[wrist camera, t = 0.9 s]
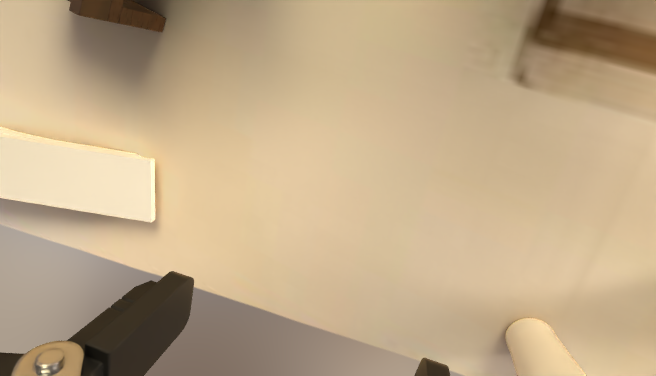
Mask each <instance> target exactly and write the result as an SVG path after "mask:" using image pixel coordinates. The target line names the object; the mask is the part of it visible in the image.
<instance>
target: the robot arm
mask: <svg viewBox="0 0 656 376" xmlns="http://www.w3.org/2000/svg"><path fill="white" fill-rule="evenodd" d="M193 287H194V279H193V278H191V277H189V276H186V275H183V274H180V273H177V272H174V271H171V272H169V273H168V274H167V275H165V276H164V277H163V278H162V279H161V280H160V281H158V282H154V281H149V282H146V283H144V284H141V285H139V286H136V287H134V288H133V289H132V290H131V291H129V292H128V293H127V294H126V295H124V296H123V297H122V299H119V300H118V301H117V302H115V303H114V304H113V305H112V306H111V308H108V309H107V310H105V311H104V312H103V313H101V314H100V315H99V316H98V317H96V318H95V319H94V320H93V321H91V322H90V323H89V324H88V325H87V326H85V327H84V328H82V329H81V330H80V331H79V332H77V333H76V334H75V335H74V336H72V337H71V338H70V339H68V340H67V341H53V342H49V343H45V344H42V345H40V346H37V347H35V348H33V349H32V350H30V351H28V352H27V353H26V354H14V353H0V376H144V375H145V374H146V373H147V371H148V370H149V369H150V368H151V367H152V366H153V364H154V363H155V362H156V361H157V360H158V359H159V357H160V356H161V355H162V354H163V353H164V352H165V350H166V349H167V348H168V347H169V346H170V344H171V343H172V342H173V341H174V340H175V339H176V338H177V336H178V335H179V334H180V333H181V332H182V330H183V329H184V327H185V325H186V323H187V321H188V319H189V316H190V310H191V302H192V293H193ZM415 376H450V373H449V368H448V366H447V365H444V364H441V363H438V362H435V361H433V360H430V359H427V358H423V359H422V360H421V362H420V364H419V367H418V369H417V371H416V373H415Z"/></svg>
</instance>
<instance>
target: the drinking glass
mask: <svg viewBox="0 0 656 376" xmlns="http://www.w3.org/2000/svg"><path fill="white" fill-rule="evenodd" d="M505 338H506V343H507V346H508V348H509V351H510V353H511V357H512V360H513V363H514V367H515V370H516V374H517V376H587V375H586V374H585V373H584V371H583V370H582V369H581V367H580V366H579V365H578V364H577V362H576V361H575V360H574V358H573V357H572V356H571V355H570V353H569V352H568V351H567V349H566V348H565V347H564V345H563V344H562V343H561V341H560V340H559V339H558V337H557V336H556V334H555V332H554V331H553V329H552V328H551V327H550V326H549V325H548V324H547V323H545V322H543V321H541V320H539V319H535V318H523V319H520V320H517V321H515V322H514V323H512V324H511V325H510V326H509V327H508V329H507V331H506V336H505Z"/></svg>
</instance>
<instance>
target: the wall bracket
mask: <svg viewBox="0 0 656 376" xmlns="http://www.w3.org/2000/svg"><path fill="white" fill-rule="evenodd" d="M0 198H4V199H10V200H16V201H22V202H28V203H35V204H41V205H47V206H53V207H59V208H65V209H71V210H77V211H84V212H90V213H96V214H102V215H108V216H114V217H120V218H126V219H133V220H139V221H145V222H151V223H152V222H153V221H154V220H155V159H151V158H145V157H140V155H139V154H137V153H131V152H125V151H119V150H113V149H107V148H101V147H95V146H89V145H83V144H77V143H71V142H65V141H60V140H54V139H49V138H44V137H39V136H35V135H30V134H26V133H22V132H18V131H14V130H11V129H7V128H4V127H1V126H0Z"/></svg>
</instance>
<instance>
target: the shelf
mask: <svg viewBox="0 0 656 376" xmlns="http://www.w3.org/2000/svg"><path fill="white" fill-rule="evenodd" d="M68 1H70V2H71V3H70V9H69V10H70V11H72V12H73V13H75V14H77V15H79V16H84V17H89V18H94V19H99V20H104V21H109V22H114V23H119V24H123V25H128V26H133V27H138V28H143V29H148V30H153V31H158V32H162V31H163V27H164V24H165V20H166V18H164V17H162V16H160V15H158V14H157V13H155V12H153V11H151V10H149V9H147V8H145V7H143V6H141V5H139V4H138V3H136V2H134V1H132V0H68Z"/></svg>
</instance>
